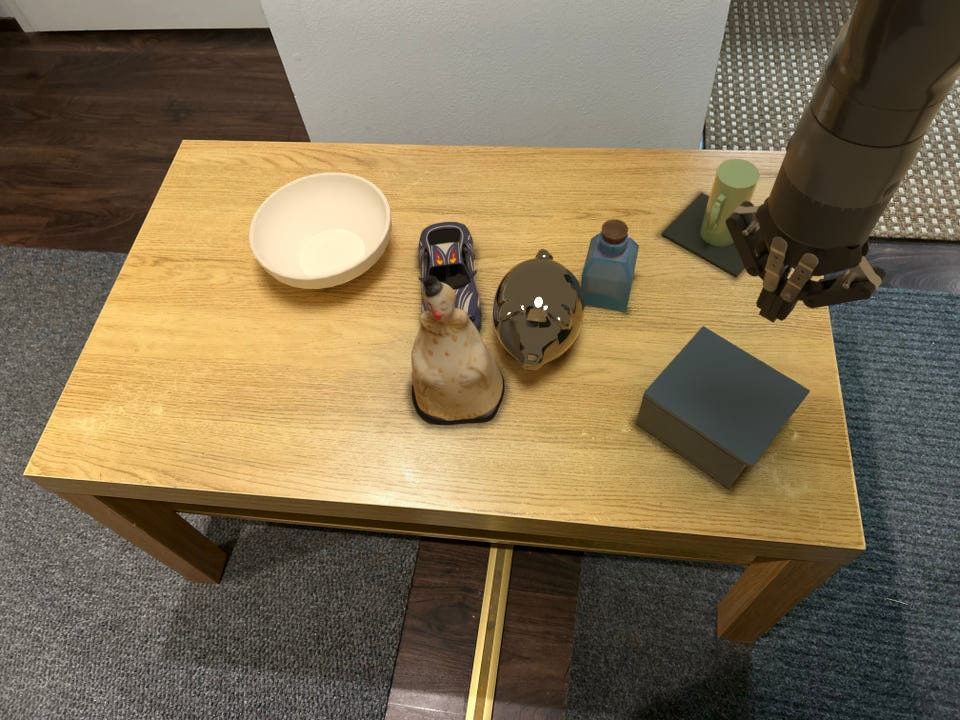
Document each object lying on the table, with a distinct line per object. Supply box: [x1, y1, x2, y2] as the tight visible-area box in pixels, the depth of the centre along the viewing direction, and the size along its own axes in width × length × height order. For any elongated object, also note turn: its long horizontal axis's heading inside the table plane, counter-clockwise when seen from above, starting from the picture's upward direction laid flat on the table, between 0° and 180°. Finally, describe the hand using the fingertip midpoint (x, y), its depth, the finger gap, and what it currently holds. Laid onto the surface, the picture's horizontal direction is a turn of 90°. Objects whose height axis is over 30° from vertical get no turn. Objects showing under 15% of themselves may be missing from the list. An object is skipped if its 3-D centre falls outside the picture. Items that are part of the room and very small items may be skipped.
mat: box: [660, 192, 757, 278], centre depth 96 cm, size 12×10×1 cm
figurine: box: [410, 275, 506, 426], centre depth 78 cm, size 12×10×20 cm
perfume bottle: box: [580, 218, 640, 313], centre depth 88 cm, size 6×6×12 cm
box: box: [635, 395, 747, 489], centre depth 79 cm, size 13×12×7 cm
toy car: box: [418, 221, 482, 333], centre depth 93 cm, size 8×18×5 cm, turn 5°
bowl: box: [248, 171, 393, 290], centre depth 97 cm, size 20×20×7 cm
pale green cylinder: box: [700, 158, 761, 247], centre depth 91 cm, size 5×7×11 cm
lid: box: [642, 325, 811, 470], centre depth 75 cm, size 13×12×1 cm
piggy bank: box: [492, 248, 585, 371], centre depth 85 cm, size 11×15×12 cm
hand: (771, 312), depth 62 cm, fingers closed
